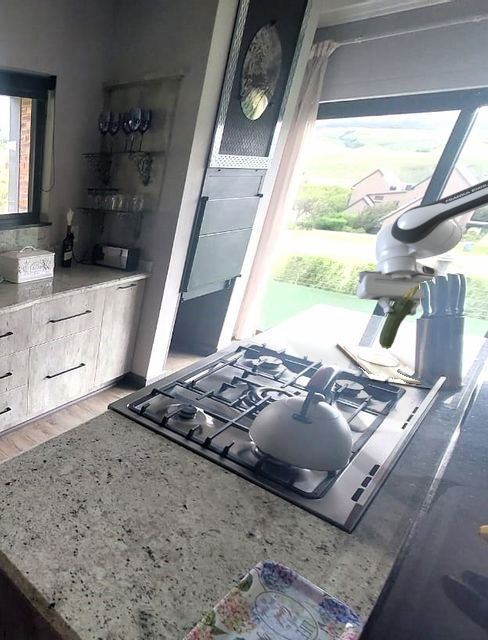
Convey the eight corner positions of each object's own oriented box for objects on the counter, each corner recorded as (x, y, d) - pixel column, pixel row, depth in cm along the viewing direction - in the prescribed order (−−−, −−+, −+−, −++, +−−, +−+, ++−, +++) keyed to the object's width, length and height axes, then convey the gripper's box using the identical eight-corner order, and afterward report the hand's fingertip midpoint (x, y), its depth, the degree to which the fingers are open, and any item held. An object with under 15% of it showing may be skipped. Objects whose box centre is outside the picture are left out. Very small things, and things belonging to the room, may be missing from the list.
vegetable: (375, 349, 125) (408, 285, 115) (369, 343, 128) (400, 281, 119) (393, 351, 123) (427, 287, 114) (386, 345, 127) (418, 283, 117)
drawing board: (385, 352, 134) (387, 349, 133) (431, 389, 112) (433, 385, 111) (335, 345, 138) (337, 342, 137) (370, 379, 116) (372, 376, 115)
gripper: (364, 264, 123) (367, 305, 119) (444, 270, 119) (450, 312, 115) (350, 275, 128) (352, 314, 125) (425, 281, 125) (430, 322, 121)
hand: (400, 313), depth 120 cm, fingers closed on vegetable, 4 cm apart
